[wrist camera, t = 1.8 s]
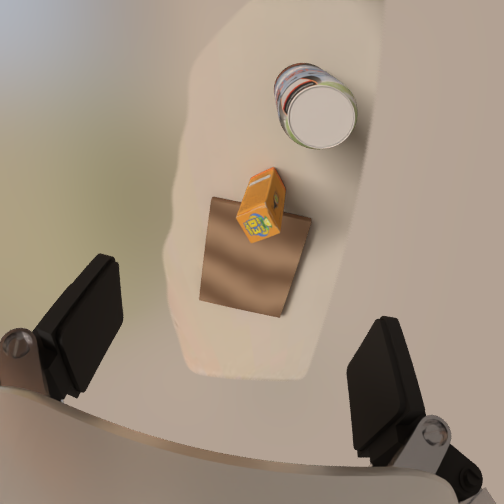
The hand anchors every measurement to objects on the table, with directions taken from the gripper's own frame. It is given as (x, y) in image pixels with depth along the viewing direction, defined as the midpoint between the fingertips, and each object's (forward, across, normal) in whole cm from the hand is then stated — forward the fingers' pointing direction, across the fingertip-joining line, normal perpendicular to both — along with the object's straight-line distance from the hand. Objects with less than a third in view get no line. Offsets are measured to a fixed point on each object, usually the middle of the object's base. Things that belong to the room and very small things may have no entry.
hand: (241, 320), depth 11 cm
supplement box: (+27, 0, +4) cm, 27 cm away
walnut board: (+27, 0, +15) cm, 31 cm away
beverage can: (+26, -2, -7) cm, 27 cm away
